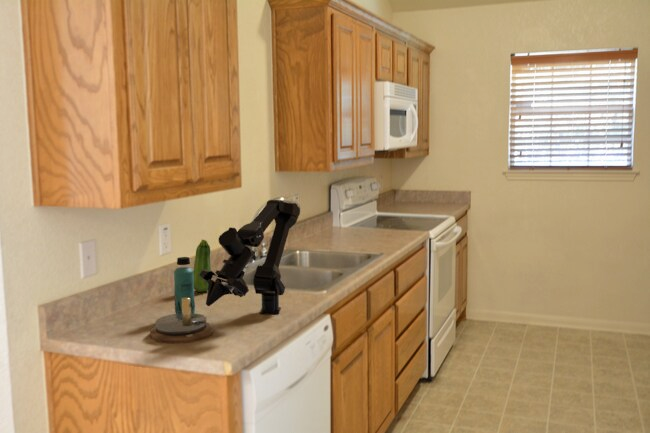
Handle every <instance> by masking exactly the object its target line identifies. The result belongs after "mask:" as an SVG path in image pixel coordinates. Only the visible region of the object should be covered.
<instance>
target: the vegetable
mask: <svg viewBox="0 0 650 433" xmlns="http://www.w3.org/2000/svg"><path fill="white" fill-rule="evenodd" d="M194 256H195V257H194V264H193V271H194V272H193V278H194V291H195V292H198V293H203V292H206V291H207V292H208V285H209V284H208V283H207V282H206V281H205V280H204V279H202V278H201V277H200V276H199V274H200V273H201V271H202V270H210V271H212V267H211V246H210V245H209V242H208V241H207V240H206V239H203V238H202V239H201V241H200V242H199V244H198V246H196V249H195V255H194Z"/></svg>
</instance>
